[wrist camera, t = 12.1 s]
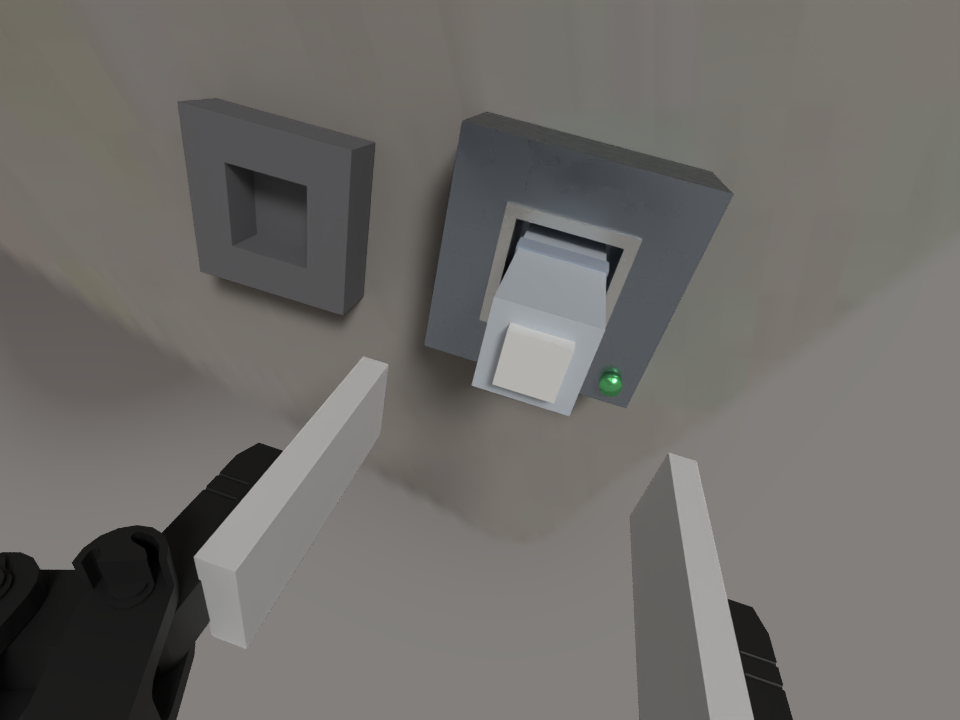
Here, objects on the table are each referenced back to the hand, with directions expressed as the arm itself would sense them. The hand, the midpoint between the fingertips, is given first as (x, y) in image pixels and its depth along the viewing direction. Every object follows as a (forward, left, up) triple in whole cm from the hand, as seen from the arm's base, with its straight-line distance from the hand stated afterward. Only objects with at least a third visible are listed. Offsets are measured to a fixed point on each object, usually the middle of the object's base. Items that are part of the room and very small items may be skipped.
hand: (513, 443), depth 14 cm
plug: (0, 0, -17) cm, 17 cm away
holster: (-17, -2, -17) cm, 24 cm away
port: (0, 0, -17) cm, 17 cm away
